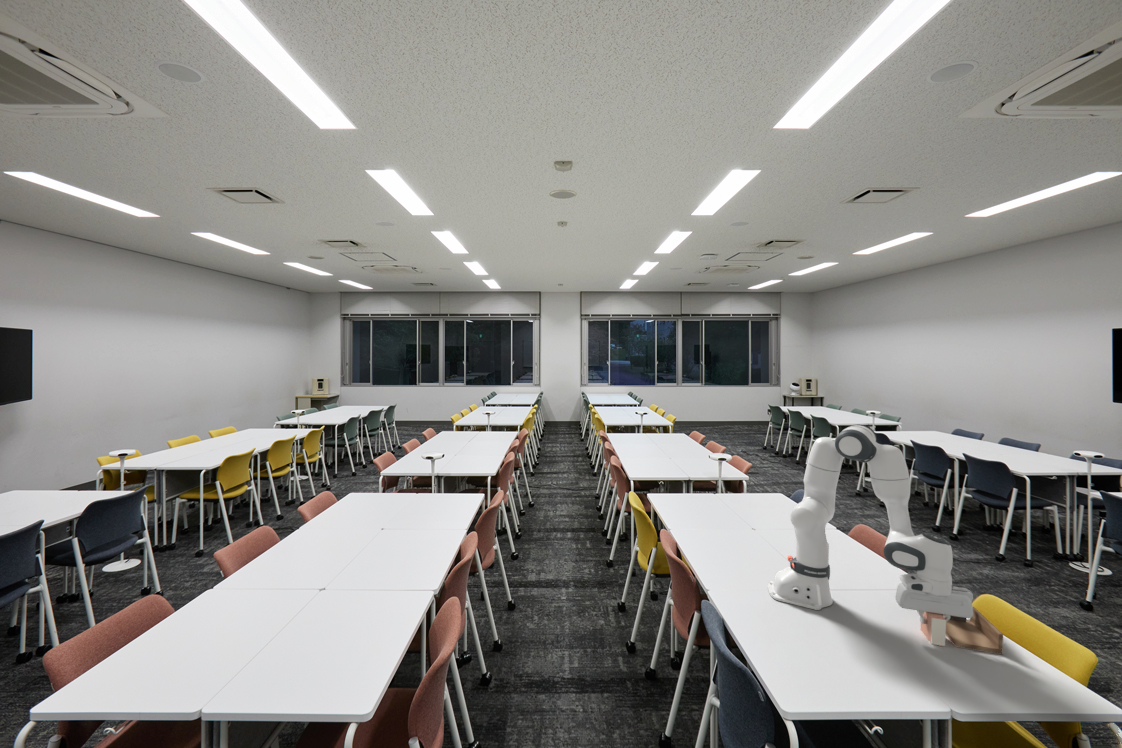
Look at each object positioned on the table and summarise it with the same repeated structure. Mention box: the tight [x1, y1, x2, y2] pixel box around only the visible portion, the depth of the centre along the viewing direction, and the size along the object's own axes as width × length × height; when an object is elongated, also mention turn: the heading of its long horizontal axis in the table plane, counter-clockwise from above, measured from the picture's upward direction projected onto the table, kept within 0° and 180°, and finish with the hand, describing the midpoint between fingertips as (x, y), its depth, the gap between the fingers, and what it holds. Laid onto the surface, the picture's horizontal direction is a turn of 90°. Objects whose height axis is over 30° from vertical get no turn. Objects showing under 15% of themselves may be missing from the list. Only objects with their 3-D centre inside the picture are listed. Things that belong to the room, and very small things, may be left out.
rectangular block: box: [920, 612, 946, 647], centre depth 147 cm, size 4×8×9 cm, turn 161°
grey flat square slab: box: [941, 614, 967, 622], centre depth 154 cm, size 8×1×8 cm, turn 71°
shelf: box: [945, 606, 1004, 655], centre depth 148 cm, size 12×16×6 cm
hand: (932, 624), depth 147 cm, fingers closed on rectangular block, 3 cm apart
